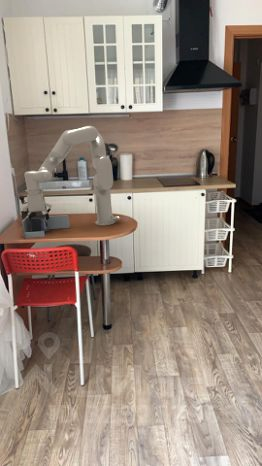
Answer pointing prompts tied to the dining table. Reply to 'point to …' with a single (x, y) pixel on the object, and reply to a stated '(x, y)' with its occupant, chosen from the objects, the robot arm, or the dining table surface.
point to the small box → (39, 223)
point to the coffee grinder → (28, 210)
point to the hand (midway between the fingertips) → (39, 220)
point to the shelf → (53, 223)
